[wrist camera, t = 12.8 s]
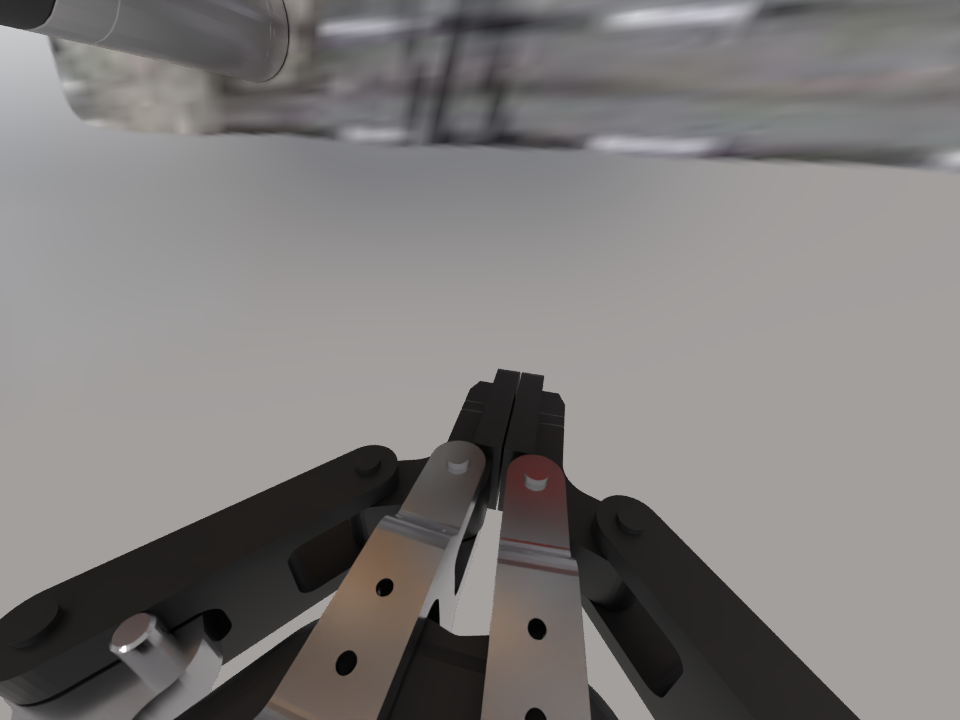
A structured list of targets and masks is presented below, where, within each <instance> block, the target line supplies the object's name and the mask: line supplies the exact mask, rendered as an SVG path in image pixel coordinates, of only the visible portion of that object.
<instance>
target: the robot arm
mask: <svg viewBox="0 0 960 720" xmlns="http://www.w3.org/2000/svg"><path fill="white" fill-rule="evenodd" d="M0 25H3V26H8V27H13V28H17V29H23V30H26V31H30V32H35V33H40V34H44V35H48V36H53V37H57V38H61V39H66V40H70V41H75V42H79V43H85V44H89V45H94V46H98V47H102V48H107V49H111V50H116V51H120V52H124V53H129V54H133V55H138V56H142V57H147V58H151V59H155V60H160V61H164V62H169V63H173V64H177V65H182V66H186V67H191V68H195V69H199V70H204V71H208V72H213V73H217V74H221V75H225V76H230V77H234V78H239V79H243V80H248V81H253V82H262V81H266V80H268V79H270V78H272V77H273V76H274V75H275V74H276V73H277V72H278V71H279V69H280V68H281V66H282V64H283V62H284V59H285V56H286V53H287V45H288V24H287V18H286V12H285V9H284V5H283V2H282V0H0ZM543 381H544V376H543V375H537V374H530V373H523V372H522V374H521V379H520V372H517V371H509V370H503V369H498V371H497V374H496V377H495V380H494V382H493V383H489V382H483V381H480V382H479V383H477V384H476V385H475V386H473V387H472V388H471V389H470V391H469V393H468V395H467V398H466V401H465V402H464V405H463V407H462V410H461V411H460V414H459V416H458V418H457V421H456V423H455V425H454V428H453V430H452V432H451V435H450V437H449V439H448V442H447V443H444V444H442V445H440V446H439V447H437V448H436V449H435V450H434V452H433V453H432V455H431V456H430V457H428V458H424V459H418V460H404V461H397V457H396V455H395V453H394V452H393V451H392V450H390V449H389V448H387V447H384V446H379V445H369V446H364V447H361V448H358V449H356V450H354V451H351V452H349V453H347V454H344V455H342V456H340V457H338V458H336V459H334V460H331V461H329V462H327V463H325V464H322V465H320V466H318V467H316V468H314V469H311V470H309V471H307V472H305V473H303V474H300V475H298V476H296V477H294V478H291V479H289V480H287V481H285V482H283V483H281V484H278V485H276V486H274V487H272V488H269V489H267V490H265V491H263V492H261V493H258V494H256V495H254V496H252V497H250V498H247V499H245V500H243V501H241V502H239V503H236V504H234V505H232V506H230V507H228V508H225V509H223V510H221V511H219V512H217V513H214V514H212V515H210V516H208V517H205V518H203V519H201V520H199V521H197V522H195V523H192V524H190V525H188V526H186V527H183V528H181V529H179V530H177V531H175V532H172V533H170V534H168V535H166V536H164V537H161V538H159V539H157V540H155V541H153V542H150V543H148V544H146V545H144V546H141V547H139V548H137V549H135V550H133V551H130V552H128V553H126V554H124V555H122V556H120V557H117V558H115V559H113V560H111V561H108V562H106V563H104V564H102V565H100V566H97V567H95V568H93V569H91V570H88V571H86V572H84V573H82V574H80V575H78V576H75V577H73V578H71V579H69V580H66V581H64V582H62V583H60V584H58V585H55V586H53V587H51V588H49V589H47V590H44V591H42V592H41V593H38V594H36V595H34V596H33V597H31V598H30V599H28V600H26V601H24V602H23V603H21V604H20V605H18V606H17V607H15V608H14V609H13V610H11V611H10V612H9V613H8V614H6V615H5V616H4V617H3V618H1V619H0V696H2V697H3V698H4V700H5V702H6V703H7V704H8V705H9V706H11V709H12V718H11V720H618V718H617V717H616V715H615V714H614V712H613V711H612V710H611V708H610V707H609V706H608V705H607V704H606V702H605V701H604V700H603V699H602V697H601V696H600V695H599V694H598V693H597V692H596V691H595V690H594V689H593V688H592V687H591V686H590V685H589V684H588V678H587V667H586V656H585V655H586V654H585V643H584V632H583V620H582V607H583V608H584V610H585V612H586V613H587V615H588V616H589V618H590V619H591V621H592V622H593V624H594V626H595V627H596V629H597V630H598V632H599V633H600V635H601V637H602V638H603V640H604V641H605V643H606V644H607V646H608V647H609V649H610V651H611V652H612V654H613V655H614V656H615V658H616V660H617V661H618V663H619V664H620V666H621V668H622V669H623V671H624V672H625V674H626V675H627V677H628V679H629V680H630V682H631V683H632V685H633V686H634V688H635V689H636V691H637V693H638V694H639V696H640V697H641V699H642V700H643V702H644V703H645V705H646V707H647V708H648V710H649V711H650V713H651V714H652V716H653V718H654V719H655V720H860V719H859V718H858V717H857V716H856V715H855V714H854V713H853V712H852V711H851V710H850V709H849V708H848V707H847V706H846V705H845V704H844V703H843V702H842V701H841V700H840V699H839V698H838V697H837V696H836V695H835V694H834V693H833V692H832V691H831V690H830V689H829V688H828V687H827V686H826V685H825V684H824V683H823V682H822V681H821V680H820V679H819V678H818V677H817V676H816V675H815V674H814V673H813V672H812V671H811V670H810V669H809V668H808V667H807V666H806V665H805V664H804V663H803V662H802V661H801V660H800V659H799V658H798V657H797V656H796V655H795V654H794V653H793V652H792V651H791V650H790V649H789V648H788V647H787V646H786V644H784V642H782V640H781V639H780V638H779V637H778V636H776V635H775V633H774V632H772V630H771V629H770V628H769V627H768V626H767V625H766V624H765V623H764V622H763V621H762V620H761V619H760V618H759V617H758V616H757V615H756V614H755V613H754V612H753V611H752V610H751V609H750V608H749V607H748V606H747V605H746V604H745V603H744V602H743V601H742V600H741V599H740V598H739V597H738V596H737V595H736V594H735V593H734V592H733V591H732V590H731V589H730V588H729V587H728V586H727V585H726V584H725V583H724V582H723V581H722V580H721V579H720V578H719V577H718V576H717V575H716V574H715V573H714V572H713V571H712V570H711V569H710V568H709V567H708V566H707V565H706V564H705V563H704V562H703V561H702V560H701V559H700V558H699V557H698V556H697V555H696V554H695V553H694V552H693V551H692V550H691V549H690V548H689V547H688V546H687V545H686V544H685V543H684V542H683V541H682V540H681V539H680V538H679V537H678V536H677V535H676V534H675V533H674V532H673V531H672V530H671V529H670V528H669V526H667V524H666V523H665V522H663V520H662V519H661V518H660V517H659V516H657V514H656V513H655V512H654V511H653V510H651V509H650V508H649V507H648V506H647V505H645V504H644V503H642V502H640V501H639V500H636V499H634V498H631V497H628V496H622V495H615V496H610V497H607V498H605V499H604V500H603V501H599V500H597V499H595V498H593V497H591V496H589V495H587V494H585V493H583V492H581V491H580V490H578V489H577V488H576V487H575V486H574V485H572V483H571V482H570V481H569V480H568V478H567V477H566V475H565V473H564V470H563V442H564V415H565V404H564V402H563V400H562V399H561V397H560V395H559V394H558V393H552V392H545V391H542V389H543ZM519 382H520V383H519ZM499 491H500V495H499ZM498 495H499V505H498V510H499V511H503V514H502V523H501V531H500V532H501V533H500V541H499V549H498V559H497V568H496V577H495V586H494V596H493V605H492V614H491V623H490V632H489V635H486V636H457V635H454V634H453V633H451V632H452V628H453V623H454V618H455V612H456V608H457V605H458V601H459V597H460V594H461V592H462V589H463V585H464V583H465V580H466V576H467V574H468V571H469V567H470V564H471V561H472V558H473V555H474V552H475V549H476V546H477V543H478V540H479V537H480V533H481V528H482V526H483V523H484V519H485V515H486V511H487V508H489V509H494V510H496V505H497V500H498ZM336 590H337V592H336V593H335V595H334V596H333V598H332V600H331V601H330V603H329V605H328V606H327V608H326V609H325V611H324V613H323V614H322V616H321V618H319V619H317V620H315V621H313V622H311V623H310V624H308V625H306V626H304V627H302V628H300V629H299V630H297V631H296V632H294V633H293V634H292V635H290V636H289V637H287V638H286V639H285V640H283V641H282V642H281V643H279V644H278V645H276V646H275V647H274V648H272V649H271V650H269V651H268V652H267V653H265V654H264V655H263V656H261V657H260V658H258V659H257V660H255V661H254V662H253V663H251V664H250V665H249V666H247V667H246V668H244V669H243V670H242V671H240V672H239V673H238V674H236V675H235V676H233V677H232V678H230V679H229V680H228V681H226V682H225V683H224V684H222V685H221V686H219V687H218V688H217V689H215V690H214V691H212V692H211V690H212V686H213V684H214V682H215V681H216V679H217V677H218V674H219V672H220V669H221V666H222V665H224V664H225V663H227V662H228V661H230V660H231V659H233V658H234V657H236V656H238V655H239V654H241V653H242V652H243V651H245V650H247V649H248V648H249V647H251V646H253V645H254V644H256V643H257V642H259V641H260V640H262V639H263V638H265V637H266V636H268V635H269V634H271V633H273V632H274V631H276V630H277V629H279V628H280V627H281V626H283V625H285V624H286V623H288V622H289V621H291V620H292V619H294V618H295V617H297V616H298V615H300V614H301V613H303V612H304V611H305V610H307V609H309V608H310V607H312V606H313V605H315V604H316V603H318V602H319V601H321V600H323V599H324V598H326V597H327V596H329V595H330V594H332V593H333V592H335V591H336ZM581 605H582V607H581Z"/></svg>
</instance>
